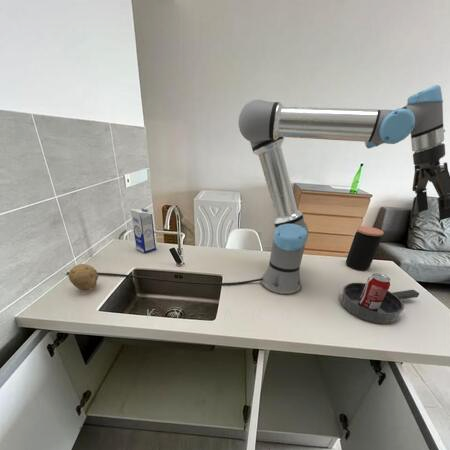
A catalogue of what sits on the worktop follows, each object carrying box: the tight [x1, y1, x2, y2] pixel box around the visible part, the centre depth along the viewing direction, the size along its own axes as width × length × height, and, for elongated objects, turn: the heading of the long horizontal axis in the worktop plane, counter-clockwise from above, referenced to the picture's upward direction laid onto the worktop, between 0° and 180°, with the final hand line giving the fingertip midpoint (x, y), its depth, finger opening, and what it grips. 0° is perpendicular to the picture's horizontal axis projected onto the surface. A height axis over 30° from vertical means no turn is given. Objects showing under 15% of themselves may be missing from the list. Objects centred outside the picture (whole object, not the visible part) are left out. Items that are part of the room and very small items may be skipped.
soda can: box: [359, 272, 391, 310], centre depth 85 cm, size 7×7×12 cm
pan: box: [339, 282, 405, 325], centre depth 87 cm, size 19×19×4 cm
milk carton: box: [130, 208, 157, 254], centre depth 116 cm, size 7×7×20 cm
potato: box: [68, 263, 99, 292], centre depth 86 cm, size 9×9×10 cm
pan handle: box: [387, 289, 420, 301], centre depth 90 cm, size 12×3×2 cm, turn 106°
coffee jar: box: [345, 225, 384, 272], centre depth 112 cm, size 11×11×18 cm
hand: (433, 214), depth 81 cm, fingers open, 13 cm apart
